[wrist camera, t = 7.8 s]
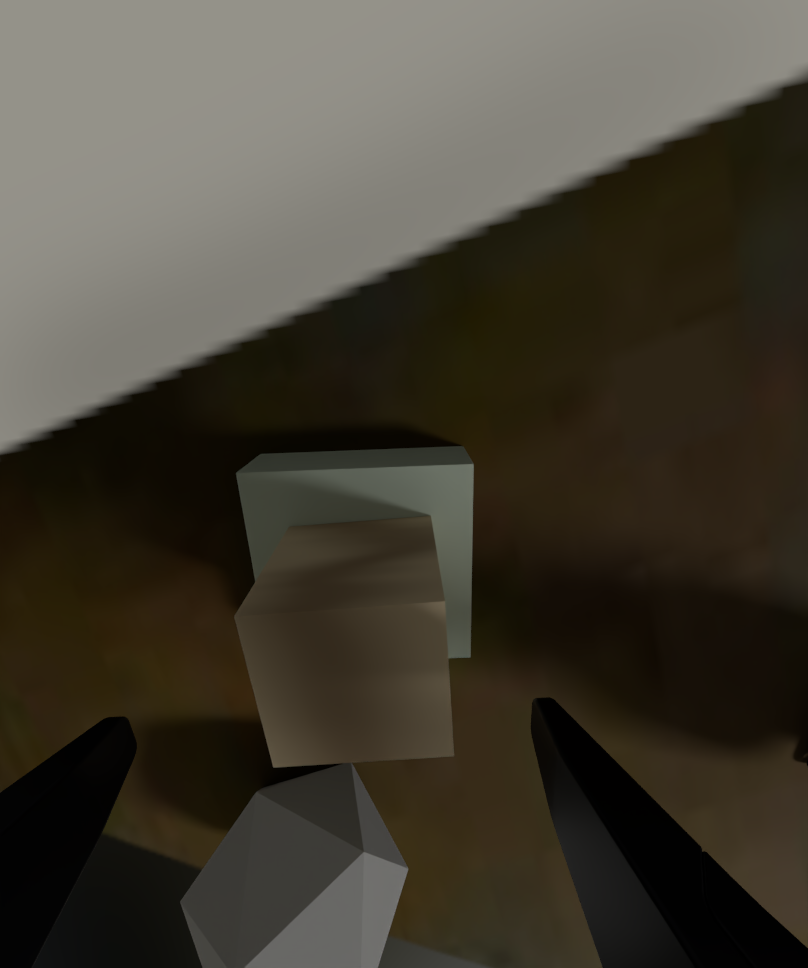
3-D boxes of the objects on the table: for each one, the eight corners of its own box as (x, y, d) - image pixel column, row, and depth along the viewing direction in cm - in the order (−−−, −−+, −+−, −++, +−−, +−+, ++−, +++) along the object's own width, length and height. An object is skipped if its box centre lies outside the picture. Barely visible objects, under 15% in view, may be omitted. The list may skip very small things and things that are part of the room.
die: (246, 705, 21) (84, 984, 15) (393, 771, 17) (245, 1203, 11) (323, 754, 27) (225, 976, 21) (451, 814, 22) (373, 1120, 16)
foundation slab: (461, 443, 17) (473, 463, 14) (460, 611, 19) (470, 657, 16) (264, 451, 17) (235, 473, 14) (289, 617, 19) (270, 664, 16)
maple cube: (430, 515, 14) (444, 601, 10) (438, 633, 16) (454, 756, 11) (288, 526, 14) (233, 616, 10) (311, 642, 16) (273, 767, 11)
